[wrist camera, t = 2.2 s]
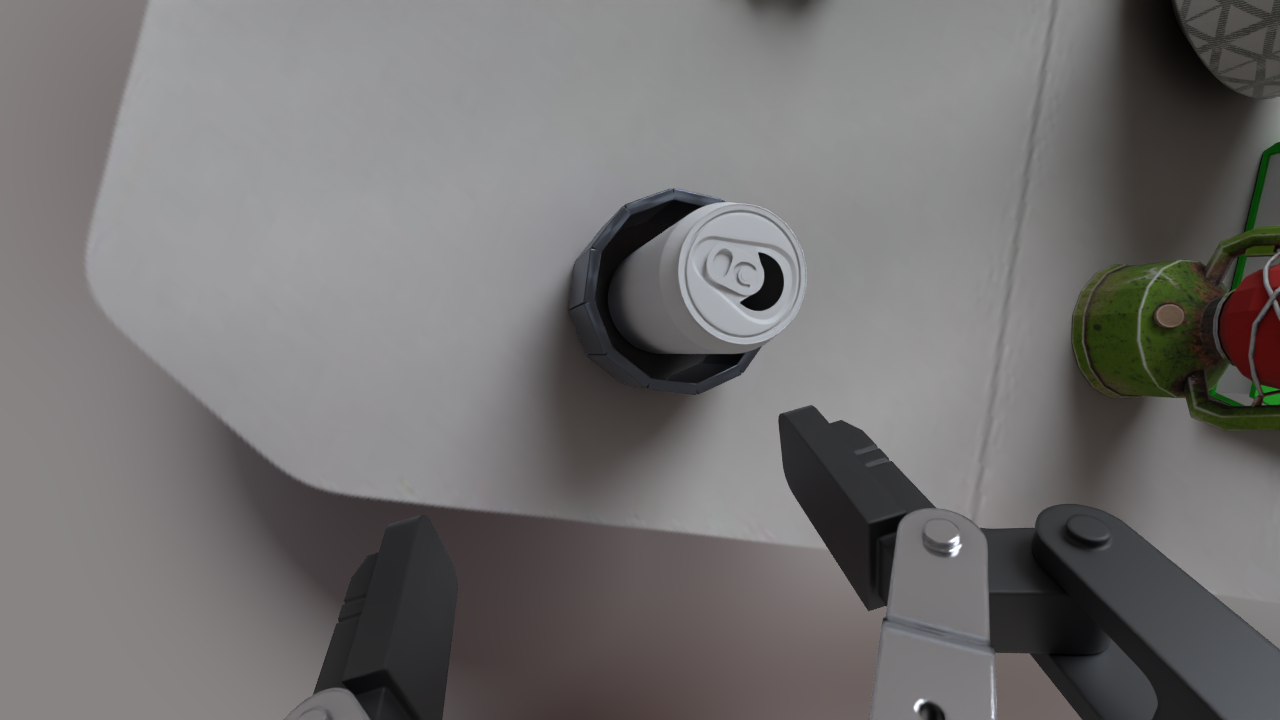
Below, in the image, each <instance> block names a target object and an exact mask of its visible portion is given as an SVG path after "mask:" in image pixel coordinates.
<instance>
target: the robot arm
mask: <svg viewBox="0 0 1280 720" xmlns="http://www.w3.org/2000/svg"><path fill="white" fill-rule="evenodd" d="M778 421H779V432H780V441H781V451H782V461H783V469H784V473H785V477H786V480H787V482H788V485H789V487H790V489H791V491H792V493H793V495H794V496H795V498H796V499H797V501H798V502H799V504H800V506H801V507H802V509H803V510H804V512H805V513H806V515H807V516H808V518H809V520H810V521H811V523H812V524H813V526H814V527H815V529H816V530H817V532H818V534H819V535H820V537H821V538H822V540H823V541H824V543H825V544H826V546H827V548H828V549H829V551H830V552H831V554H832V555H833V557H834V558H835V560H836V562H837V563H838V565H839V566H840V568H841V569H842V571H843V572H844V574H845V576H846V577H847V579H848V580H849V582H850V583H851V585H852V586H853V588H854V590H855V591H856V593H857V594H858V596H859V597H860V599H861V600H862V602H863V603H864V605H865V606H866V608H867V609H868V611H870V610H874V609H877V608H880V607H883V606H887V612H886V617H885V618H884V619H883V622H882V627H881V633H880V641H879V648H878V656H877V662H876V670H875V677H874V684H873V692H872V699H871V706H870V713H869V720H997V695H996V666H995V665H996V664H995V652H996V653H1030V654H1031V655H1032V657H1033V658H1034V659H1035V661H1036V662H1037V663H1038V664H1039V666H1040V667H1041V668H1042V669H1043V671H1044V672H1045V673H1046V674H1047V676H1048V677H1049V678H1050V679H1051V681H1052V682H1053V683H1054V685H1055V686H1056V687H1057V688H1058V690H1059V691H1060V692H1061V693H1062V695H1063V696H1064V697H1065V698H1066V700H1067V701H1068V702H1069V703H1070V705H1071V706H1072V707H1073V708H1074V710H1075V711H1076V712H1077V713H1078V715H1079V716H1080V717H1081V719H1082V720H1280V649H1279V648H1277V647H1276V646H1275V645H1274V644H1272V643H1271V642H1270V641H1269V640H1268V639H1266V638H1265V637H1264V636H1263V635H1261V634H1260V633H1259V632H1258V631H1256V630H1255V629H1254V628H1253V627H1252V626H1250V625H1249V624H1248V623H1247V622H1246V621H1244V620H1243V619H1242V618H1241V617H1239V616H1238V615H1237V614H1235V612H1233V611H1232V610H1231V609H1230V608H1228V607H1227V606H1226V605H1224V603H1222V602H1221V601H1220V600H1219V599H1217V598H1216V597H1215V596H1214V595H1213V594H1211V593H1210V592H1209V591H1208V590H1206V589H1205V588H1204V587H1203V586H1201V585H1200V584H1199V583H1198V582H1197V581H1195V580H1194V579H1193V578H1192V577H1190V576H1189V575H1188V574H1187V573H1186V572H1184V571H1183V570H1182V569H1181V568H1179V567H1178V566H1177V565H1176V564H1175V563H1173V562H1172V561H1171V560H1170V559H1168V558H1167V557H1166V556H1165V555H1164V554H1162V553H1161V552H1160V551H1159V550H1157V549H1156V548H1155V547H1154V546H1153V545H1151V544H1150V543H1149V542H1148V541H1146V540H1145V539H1144V538H1143V537H1141V536H1140V535H1139V534H1138V533H1137V532H1135V531H1134V530H1133V529H1132V528H1130V527H1129V526H1128V525H1127V524H1125V523H1124V522H1123V521H1121V520H1120V519H1118V518H1116V517H1115V516H1113V515H1111V514H1109V513H1107V512H1104V511H1102V510H1099V509H1096V508H1092V507H1088V506H1083V505H1077V504H1061V505H1055V506H1052V507H1049V508H1047V509H1045V510H1043V511H1042V512H1041V513H1040V514H1039V515H1038V517H1037V520H1036V524H1035V528H1013V529H986V528H979V527H978V526H977V525H976V524H975V523H973V522H972V521H971V520H969V519H968V518H966V517H965V516H962V515H960V514H958V513H955V512H953V511H949V510H945V509H938V508H936V507H935V506H934V505H933V504H932V503H931V502H930V501H929V500H928V499H927V498H926V497H925V496H924V495H923V494H922V493H921V492H920V491H919V490H918V488H917V487H916V486H915V485H914V484H913V483H912V482H911V481H910V480H909V479H908V478H907V477H906V476H905V475H904V474H903V473H902V472H901V471H900V469H899V468H898V467H897V466H896V465H895V464H894V463H893V462H892V461H889V458H888V457H887V456H886V455H885V454H884V453H883V452H882V450H881V449H878V448H877V445H876V444H875V443H874V442H873V441H872V440H871V439H870V438H869V437H868V436H867V435H866V434H865V433H864V432H863V431H862V430H860V429H858V428H856V427H854V426H852V425H850V424H848V423H846V422H844V421H842V420H840V421H837V422H833V423H830V424H829V422H828V421H827V420H826V419H825V418H824V417H823V416H822V414H821V413H820V412H819V411H818V410H817V409H816V408H815V407H814V406H812V405H810V406H806V407H803V408H799V409H796V410H792V411H789V412H785V413H782V414H780V415H779V420H778ZM457 587H458V584H457V576H456V571H455V567H454V565H453V562H452V560H451V558H450V556H449V554H448V553H447V551H446V549H445V547H444V545H443V543H442V541H441V539H440V537H439V535H438V534H437V532H436V530H435V528H434V526H433V524H432V522H431V520H430V519H429V518H428V517H427V516H426V515H421V516H417V517H414V518H410V519H407V520H403V521H400V522H396V523H393V524H390V525H388V527H387V528H386V531H385V534H384V537H383V541H382V544H381V547H380V551H379V553H375V554H372V555H369V556H367V558H366V559H365V560H364V562H363V563H362V564H361V566H360V567H359V569H358V570H357V571H356V573H355V574H354V576H353V577H352V578H351V581H350V584H349V588H348V591H347V594H346V597H345V600H344V601H345V604H344V605H343V606H342V609H341V612H340V615H339V618H338V620H339V623H337V624H336V627H335V630H334V633H333V636H332V639H331V642H330V645H329V648H328V651H327V654H326V657H325V660H324V663H323V666H322V669H321V672H320V675H319V678H318V681H317V684H316V687H315V690H314V693H313V695H312V696H311V697H309V698H307V699H306V700H304V701H303V702H302V703H300V704H299V705H298V706H297V707H296V708H295V709H294V710H292V711H291V713H289V715H288V716H287V717H286V718H285V719H284V720H442V717H443V708H444V700H445V692H446V683H447V674H448V666H449V658H450V650H451V642H452V633H453V625H454V616H455V608H456V599H457V591H458V588H457Z"/></svg>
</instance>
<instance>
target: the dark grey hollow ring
mask: <svg viewBox="0 0 1280 720" xmlns="http://www.w3.org/2000/svg"><path fill="white" fill-rule="evenodd" d="M720 202H725V201H723V200H722V201H721V199H719V198H715V197H710V196H706V195H702V194H697V193H693V192H688V191H684V190H679V189H675V188H674V189H668V190H665V191H662V192H659V193H656V194H653V195H651V196H648V197H645V198H642V199H639V200H636V201H634V202H631V203H628V204H625V205H624V206H623V207H622V208H621V209H620V210H619V211H618V212H617V213H616V214H615V215H614V216H613V217H612V218H611V219H610V220H609V221H608V222H607V223H606V224H605V225H604V226H603V227H602V228H601V230H600V231H599V232H598V233H597V235H596V236H595V237H594V238H593V240H592V241H591V242H590V244H589V245H588V246H587V247H586V249H585V250H584V251H583V252H582V254H581V255H580V256H579V257H578V259H577V260H576V263H575V264H574V270H573V277H572V285H571V293H570V300H569V308H568V309H569V310H570V311H569V314H570V316H571V319H572V321H573V323H574V326H575V328H576V331H577V333H578V336H579V338H580V341H581V343H582V346H583V348H584V350H585V353H586V354H588V357H589V358H591V359H592V360H593V361H595V362H596V363H597V364H598V365H600V366H601V367H602V368H604V369H605V370H606V371H607V372H609V373H610V374H611V375H613V376H614V377H615V378H616V379H618V380H619V381H620V382H622V383H624V384H627V385H632V386H637V387H641V388H646V389H652V390H660V391H669V392H677V393H685V394H693V395H696V394H700V393H703V392H705V391H707V390H709V389H711V388H713V387H716V386H718V385H720V384H722V383H724V382H726V381H729V380H731V379H733V378H735V377H737V376H739V375H741V373H743V372H744V371H745V370H746V368H747V367H748V365H749V364H750V362H751V361H752V360H753V358H754V357H755V355H756V354H757V352H758V351H759V350H760V348H761V347H762V346H761V347H759V348H757V349H754V350H752V351H748V352H744V353H738V354H708V355H707V356H706V358H705V359H704V361H703V362H702V363H701V364H699V365H697V366H695V367H692V368H690V369H688V370H686V371H683V372H681V373H679V374H677V375H674V376H672V377H670V378H668V379H661V378H653V377H650V376H648V375H647V374H646V373H645V372H643V371H642V370H641V369H640V368H638V367H637V366H636V365H635V364H633V363H632V362H631V361H630V360H628V359H627V358H626V357H625V356H623V355H622V354H621V353H619V352H618V351H617V350H616V349H614V347H613V345H612V342H611V340H610V337H609V335H608V333H607V330H606V328H605V325H604V323H603V320H602V318H601V315H600V313H599V310H598V308H597V305H596V303H595V300H596V292H597V284H598V277H599V269H600V261H601V254H602V252H603V250H604V249H605V248H606V247H607V245H608V244H609V243H610V241H611V240H612V239H613V238H614V236H615V235H616V234H617V232H619V231H622V230H624V229H627V228H630V227H633V226H635V225H638V224H641V223H643V222H646V221H648V222H653V223H658V224H663V225H668V226H673V225H674V224H675V223H677V222H678V221H680V220H681V219H683V218H684V217H686V216H687V215H689V214H690V213H692V212H693V211H695V210H697V209H699V208H701V207H703V206H706V205H709V204H714V203H720Z"/></svg>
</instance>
